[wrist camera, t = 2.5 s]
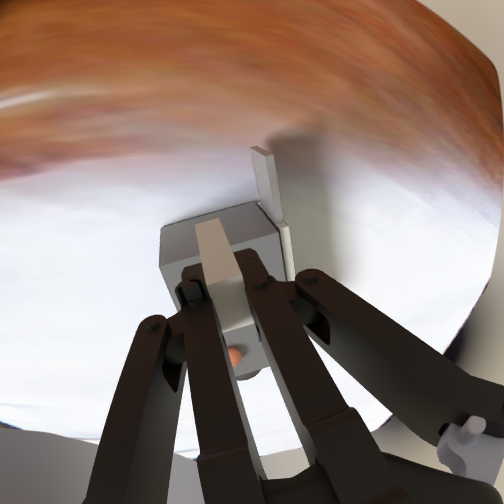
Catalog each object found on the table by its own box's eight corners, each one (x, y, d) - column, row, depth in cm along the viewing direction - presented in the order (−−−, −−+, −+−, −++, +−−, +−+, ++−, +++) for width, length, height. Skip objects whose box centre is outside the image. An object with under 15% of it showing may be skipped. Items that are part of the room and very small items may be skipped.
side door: (245, 145, 28) (267, 159, 22) (254, 143, 28) (280, 156, 22) (270, 282, 37) (292, 321, 30) (278, 279, 37) (301, 318, 30)
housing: (160, 227, 30) (158, 271, 23) (263, 198, 32) (294, 232, 24) (208, 349, 40) (219, 400, 32) (285, 325, 41) (308, 372, 33)
